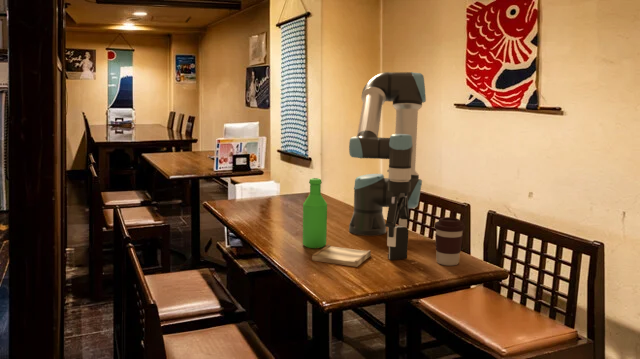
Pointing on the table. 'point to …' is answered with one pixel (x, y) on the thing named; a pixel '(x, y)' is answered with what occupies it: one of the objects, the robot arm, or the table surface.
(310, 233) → the bottle
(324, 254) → the board
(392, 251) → the battery charger
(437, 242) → the coffee cup
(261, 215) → the table surface
